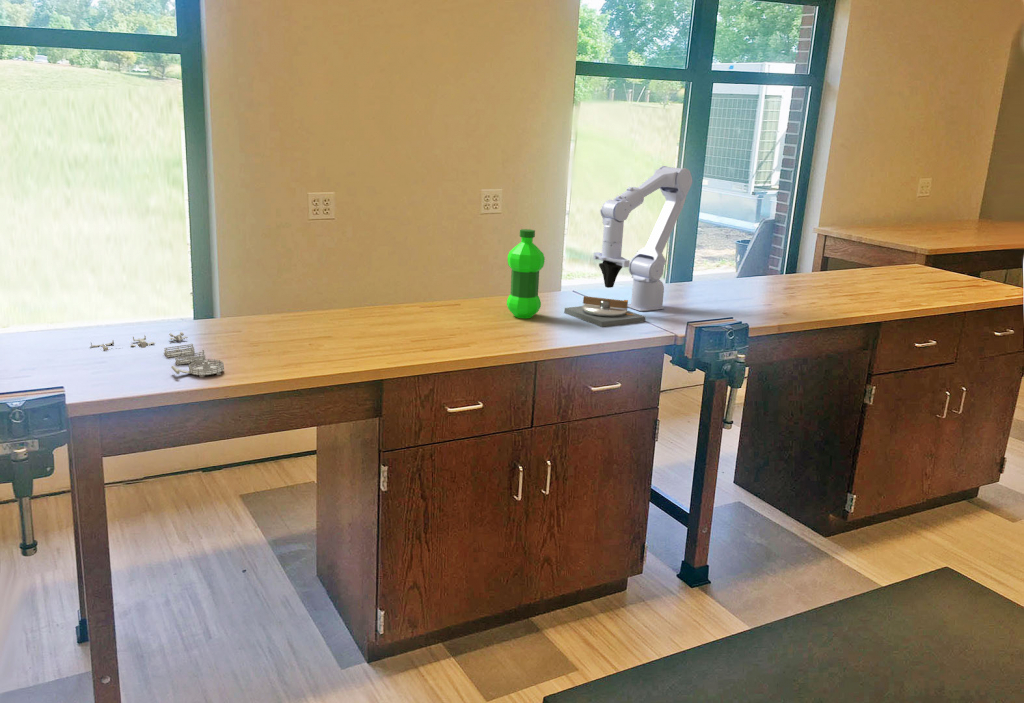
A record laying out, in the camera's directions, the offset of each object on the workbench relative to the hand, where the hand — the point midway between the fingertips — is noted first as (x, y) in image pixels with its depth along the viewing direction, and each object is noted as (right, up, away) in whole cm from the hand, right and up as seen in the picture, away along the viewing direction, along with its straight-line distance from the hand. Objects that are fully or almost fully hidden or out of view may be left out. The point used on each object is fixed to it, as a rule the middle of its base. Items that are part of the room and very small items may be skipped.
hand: (609, 287), depth 262 cm
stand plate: (-2, -9, -3) cm, 10 cm away
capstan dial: (-2, -7, -3) cm, 8 cm away
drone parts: (-110, -22, -63) cm, 128 cm away
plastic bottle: (-26, -9, -6) cm, 28 cm away
